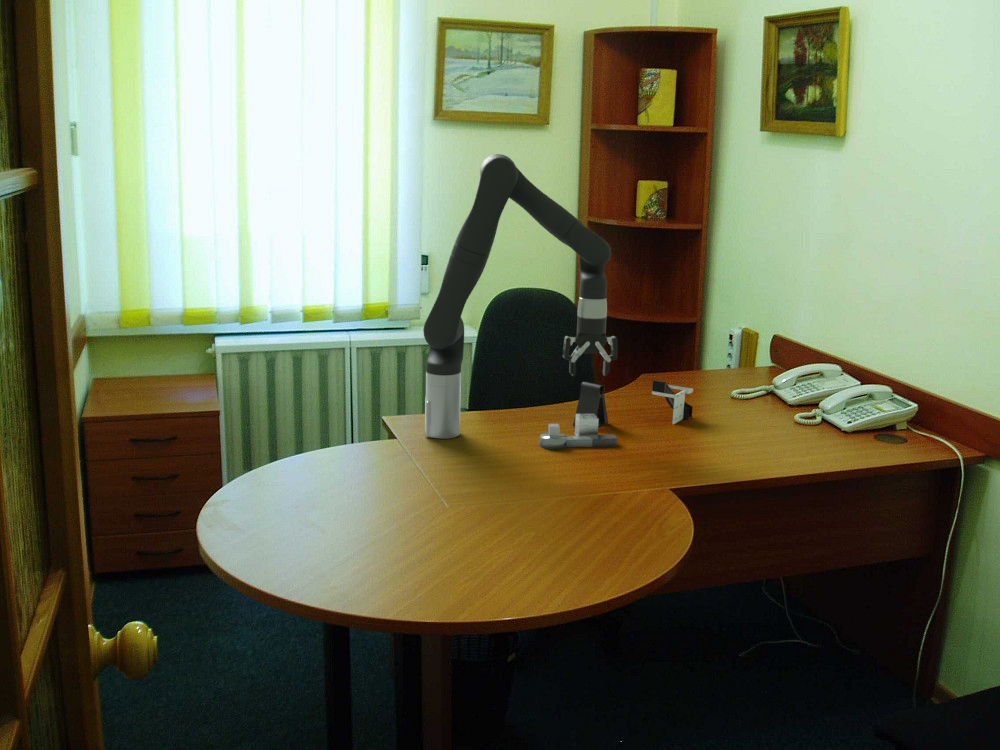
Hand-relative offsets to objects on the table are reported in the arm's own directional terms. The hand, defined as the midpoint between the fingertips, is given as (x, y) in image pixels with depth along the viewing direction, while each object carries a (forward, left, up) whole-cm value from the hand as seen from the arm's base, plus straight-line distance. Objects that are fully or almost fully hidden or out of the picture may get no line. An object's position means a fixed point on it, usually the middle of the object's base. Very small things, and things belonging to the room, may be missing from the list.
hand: (589, 375), depth 251 cm
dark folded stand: (+4, +12, -18) cm, 21 cm away
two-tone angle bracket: (+29, +17, -18) cm, 38 cm away
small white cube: (0, 0, -17) cm, 17 cm away
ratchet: (-4, -6, -17) cm, 19 cm away
